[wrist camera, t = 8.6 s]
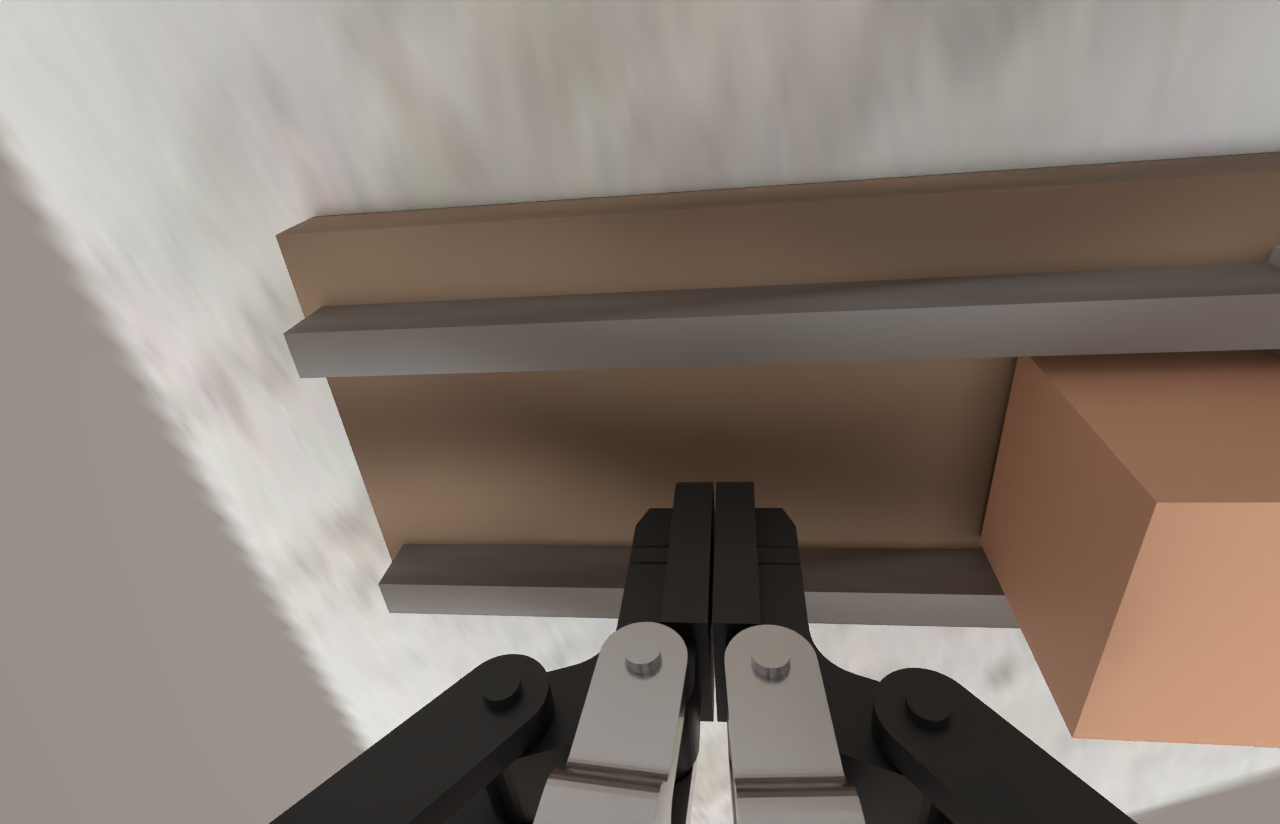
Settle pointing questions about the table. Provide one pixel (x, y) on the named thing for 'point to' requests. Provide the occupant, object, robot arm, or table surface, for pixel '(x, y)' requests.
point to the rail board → (750, 364)
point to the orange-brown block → (1146, 540)
